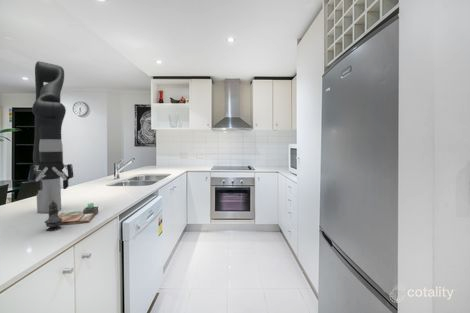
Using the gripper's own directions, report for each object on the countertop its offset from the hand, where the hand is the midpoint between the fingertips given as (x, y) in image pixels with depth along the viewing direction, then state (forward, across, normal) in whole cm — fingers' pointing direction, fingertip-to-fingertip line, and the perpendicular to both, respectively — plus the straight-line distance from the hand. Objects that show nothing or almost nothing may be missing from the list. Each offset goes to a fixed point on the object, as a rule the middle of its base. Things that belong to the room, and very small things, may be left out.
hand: (52, 189), depth 96 cm
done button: (+14, -9, -18) cm, 25 cm away
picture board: (+17, -4, -13) cm, 21 cm away
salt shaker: (+17, 0, 0) cm, 17 cm away
